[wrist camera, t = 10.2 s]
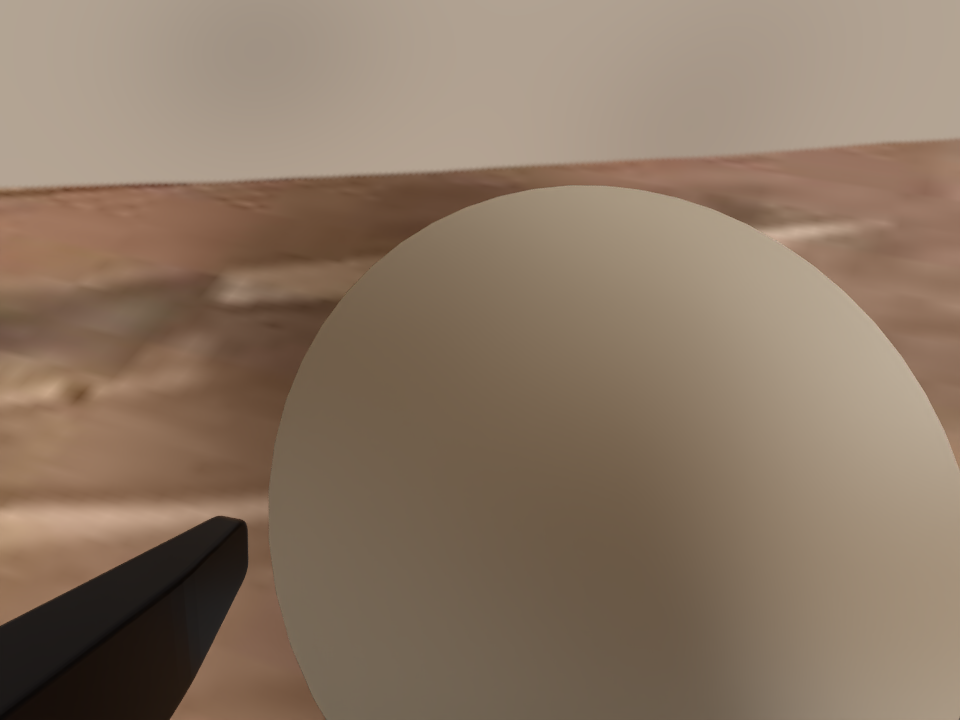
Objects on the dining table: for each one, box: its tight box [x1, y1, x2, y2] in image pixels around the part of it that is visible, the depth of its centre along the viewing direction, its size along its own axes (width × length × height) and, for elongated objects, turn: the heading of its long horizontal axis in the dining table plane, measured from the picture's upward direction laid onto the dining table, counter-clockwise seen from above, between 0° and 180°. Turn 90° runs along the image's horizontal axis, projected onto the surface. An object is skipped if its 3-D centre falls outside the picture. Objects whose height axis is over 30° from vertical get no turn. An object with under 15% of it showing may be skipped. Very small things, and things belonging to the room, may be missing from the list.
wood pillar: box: [269, 186, 960, 720], centre depth 10 cm, size 6×6×13 cm
